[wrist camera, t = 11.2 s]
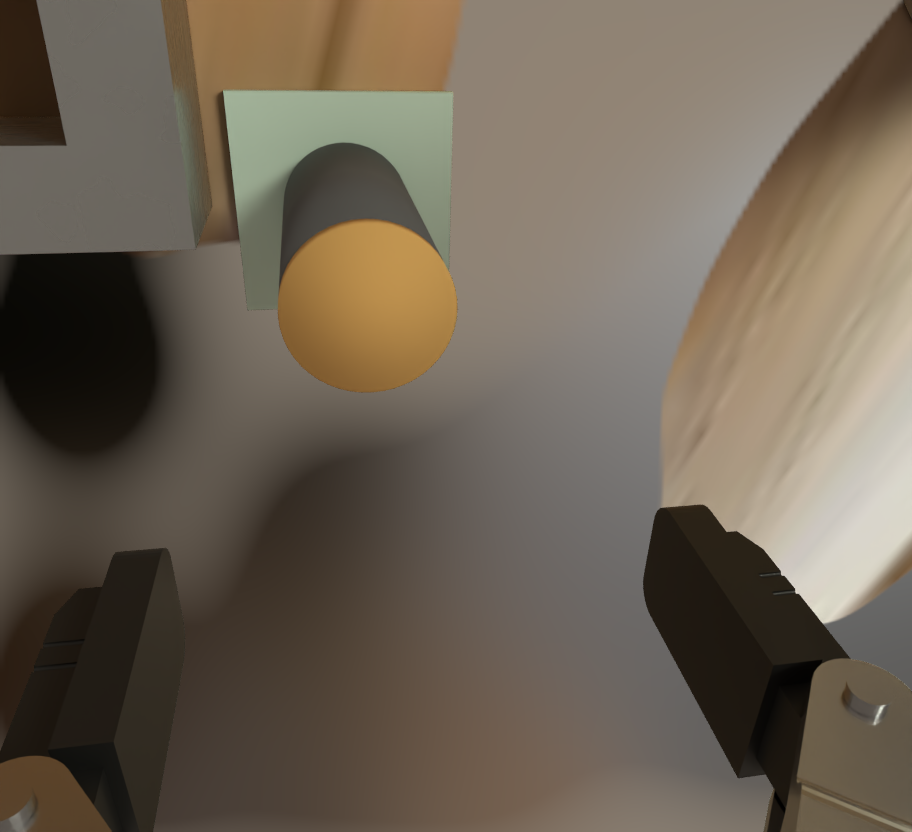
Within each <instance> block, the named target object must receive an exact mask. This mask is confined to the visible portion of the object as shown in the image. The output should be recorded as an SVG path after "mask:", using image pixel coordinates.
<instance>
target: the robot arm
mask: <svg viewBox="0 0 912 832" xmlns="http://www.w3.org/2000/svg"><path fill="white" fill-rule="evenodd" d="M904 3H905V5H906V7H907V10H908V12H909V14H910V17H911V19H912V0H904ZM643 589H644V597H645V602H646V605H647V608H648V611H649V613H650V616H651V617H652V619H653V621H654V623H655V625H656V627H657V629H658V630H659V632H660V634H661V636H662V638H663V640H664V642H665V643H666V645H667V647H668V649H669V651H670V653H671V654H672V656H673V658H674V660H675V662H676V664H677V665H678V668H679V669H680V671H681V673H682V675H683V677H684V679H685V680H686V682H687V684H688V686H689V688H690V690H691V692H692V694H693V695H694V697H695V699H696V701H697V703H698V704H699V706H700V708H701V710H702V712H703V714H704V715H705V718H706V720H707V721H708V723H709V725H710V727H711V729H712V730H713V733H714V734H715V736H716V738H717V740H718V742H719V744H720V746H721V747H722V749H723V751H724V753H725V755H726V757H727V758H728V760H729V762H730V764H731V766H732V768H733V770H734V772H735V773H736V775H737V777H738V778H743V777H750V776H757V775H764V774H766V775H767V777H768V779H769V781H770V783H771V784H772V786H773V791H772V794H771V797H770V800H769V804H768V810H767V816H766V820H765V826H764V831H763V832H912V691H911V690H910V689H909V688H908V687H907V686H906V685H905V684H904V683H903V682H902V681H900V680H899V679H898V678H897V677H895V676H894V675H892V674H891V673H889V672H888V671H886V670H884V669H882V668H880V667H877V666H875V665H873V664H870V663H867V662H864V661H860V660H854V659H850V658H849V656H848V655H847V654H846V652H845V651H844V650H843V649H842V647H841V646H840V645H839V644H838V643H837V641H836V640H835V639H834V638H833V636H832V635H831V634H830V632H829V631H828V630H827V629H826V627H825V626H824V625H823V624H822V622H821V621H820V620H819V619H818V617H817V616H816V615H815V614H814V612H813V611H812V610H811V608H810V607H809V606H808V605H807V603H806V602H805V601H804V600H803V598H802V597H801V596H800V595H799V594H796V593H795V588H794V587H793V586H792V585H791V583H790V582H789V581H788V580H787V578H786V577H785V576H781V571H780V570H779V568H778V567H777V566H776V565H775V563H774V562H773V561H772V560H771V558H770V557H769V556H768V555H767V553H766V552H765V551H764V550H763V549H762V548H761V547H759V546H758V545H756V544H755V543H753V542H752V541H750V540H749V539H747V538H746V537H744V536H743V535H742V534H740V533H739V532H737V531H734V532H726V531H725V529H724V528H723V527H722V525H721V524H720V523H719V521H718V520H717V519H716V517H715V516H714V515H713V514H712V512H711V511H710V510H709V509H708V507H706V506H705V505H690V506H678V507H666V508H660V509H659V510H658V511H657V513H656V515H655V519H654V523H653V529H652V534H651V539H650V545H649V550H648V556H647V561H646V566H645V572H644V579H643ZM43 645H44V646H43V649H41V650H40V653H39V655H38V658H37V660H36V663H35V665H34V672H32V673H31V675H30V678H29V680H28V683H27V685H26V688H25V690H24V693H23V695H22V698H21V700H20V703H19V705H18V708H17V711H16V713H15V715H14V718H13V720H12V723H11V725H10V728H9V731H8V733H7V736H6V738H5V741H4V743H3V746H2V748H1V751H0V832H153V829H154V823H155V818H156V812H157V807H158V801H159V796H160V790H161V785H162V779H163V774H164V768H165V762H166V757H167V751H168V746H169V740H170V734H171V729H172V724H173V718H174V713H175V707H176V702H177V696H178V691H179V685H180V679H181V673H182V668H183V663H184V654H185V630H184V622H183V616H182V611H181V606H180V601H179V596H178V591H177V586H176V581H175V576H174V571H173V567H172V561H171V557H170V553H169V551H168V549H167V548H159V549H148V550H136V551H123V552H116V553H115V554H114V555H113V558H112V560H111V563H110V566H109V569H108V572H107V575H106V578H105V581H104V584H103V587H95V588H85V589H78V591H76V593H75V594H74V595H73V596H72V597H71V598H70V599H69V600H68V601H67V602H66V603H65V604H64V605H63V606H62V607H61V608H60V610H59V611H58V612H57V613H56V614H55V615H54V617H53V620H52V622H51V625H50V628H49V630H48V632H47V635H46V638H45V640H44V642H43Z"/></svg>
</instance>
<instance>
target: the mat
mask: <svg viewBox="0 0 912 832" xmlns="http://www.w3.org/2000/svg"><path fill="white" fill-rule="evenodd" d="M223 94H224V103H225V112H226V121H227V130H228V139H229V148H230V157H231V166H232V175H233V184H234V193H235V202H236V211H237V220H238V229H239V238H240V247H241V256H242V265H243V274H244V283H245V292H246V301H247V310H266V309H267V310H269V309H278V294H279V276H280V258H281V239H282V221H283V203H284V193H285V188H286V184H287V182H288V179H289V177H290V175H291V173H292V171H293V170H294V168H295V167H296V166H297V164H298V163H299V162H300V161H301V160H302V159H303V158H304V157H305V156H306V155H308V154H309V153H311V152H312V151H314V150H316V149H318V148H320V147H323V146H325V145H329V144H333V143H343V142H345V143H355V144H360V145H363V146H366V147H369V148H371V149H373V150H375V151H377V152H378V153H380V154H381V155H383V156H384V157H385V158H386V159H387V160H388V161H389V162H390V163H391V164H392V165H393V166H394V167H395V169H396V170H397V172H398V173H399V175H400V177H401V179H402V181H403V183H404V185H405V187H406V189H407V191H408V193H409V195H410V196H411V198H412V200H413V202H414V204H415V206H416V208H417V210H418V212H419V214H420V216H421V218H422V220H423V222H424V224H425V226H426V228H427V230H428V232H429V234H430V236H431V238H432V240H433V242H434V244H435V246H436V248H437V249H438V251H439V253H440V255H441V257H442V259H443V261H444V263H445V265H446V267H447V269H448V271H449V251H450V210H451V169H452V127H453V126H452V125H453V124H452V123H453V92H452V91H338V90H223Z"/></svg>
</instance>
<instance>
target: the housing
mask: <svg viewBox="0 0 912 832" xmlns="http://www.w3.org/2000/svg"><path fill="white" fill-rule="evenodd" d="M36 1H37V5H38V10H39V15H40V20H41V25H42V29H43V34H44V39H45V44H46V48H47V53H48V58H49V63H50V68H51V72H52V77H53V82H54V87H55V91H56V96H57V101H58V106H59V110H60V115H61V117H13V116H0V255H6V254H45V253H83V252H124V251H163V250H195V249H196V247H197V245H198V242H199V239H200V237H201V234H202V231H203V229H204V226H205V223H206V221H207V218H208V216H209V213H210V210H211V208H212V202H211V194H210V186H209V178H208V170H207V162H206V154H205V146H204V139H203V131H202V123H201V115H200V107H199V99H198V91H197V83H196V75H195V67H194V59H193V51H192V43H191V36H190V28H189V20H188V12H187V4H186V0H36Z"/></svg>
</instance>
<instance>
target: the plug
mask: <svg viewBox="0 0 912 832" xmlns="http://www.w3.org/2000/svg"><path fill="white" fill-rule="evenodd" d="M278 319H279V325H280V330H281V333H282V336H283V339H284V341H285V343H286V345H287V348H288V349H289V351H290V352H291V354H292V355H293V357H294V358H295V359H296V361H297V362H298V363H299V364H300V365H301V366H302V367H303V368H304V369H305V370H306V371H307V372H309V373H310V374H311V375H313V376H314V377H316V378H317V379H318V380H320V381H322V382H324V383H326V384H328V385H331V386H333V387H336V388H339V389H343V390H347V391H354V392H378V391H385V390H389V389H394V388H396V387H399V386H402V385H404V384H406V383H408V382H410V381H412V380H414V379H416V378H417V377H419V376H420V375H422V374H423V373H424V372H426V371H427V370H428V369H429V368H430V367H432V365H433V364H434V363H435V362H436V361H437V360H438V359H439V358H440V356H441V355H442V354H443V352H444V351H445V349H446V347H447V345H448V344H449V342H450V340H451V337H452V334H453V332H454V328H455V324H456V319H457V296H456V290H455V286H454V283H453V280H452V278H451V275H450V273H449V271H448V269H447V267H446V265H445V263H444V261H443V259H442V257H441V255H440V253H439V251H438V249H437V248H436V246H435V244H434V242H433V240H432V238H431V236H430V234H429V232H428V230H427V228H426V226H425V224H424V222H423V220H422V218H421V216H420V214H419V212H418V210H417V208H416V206H415V204H414V202H413V200H412V198H411V196H410V195H409V193H408V191H407V189H406V187H405V185H404V183H403V181H402V179H401V177H400V175H399V173H398V172H397V170H396V169H395V167H394V166H393V165H392V164H391V163H390V162H389V161H388V160H387V159H386V158H385V157H384V156H383V155H381V154H380V153H378V152H377V151H375V150H373V149H371V148H369V147H366V146H363V145H360V144H355V143H345V142H343V143H333V144H329V145H325V146H323V147H320V148H318V149H316V150H314V151H312V152H311V153H309V154H308V155H306V156H305V157H304V158H303V159H302V160H301V161H300V162H299V163H298V164H297V166H296V167H295V168H294V170H293V171H292V173H291V175H290V177H289V179H288V182H287V184H286V188H285V193H284V203H283V221H282V239H281V258H280V276H279V294H278Z"/></svg>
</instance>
